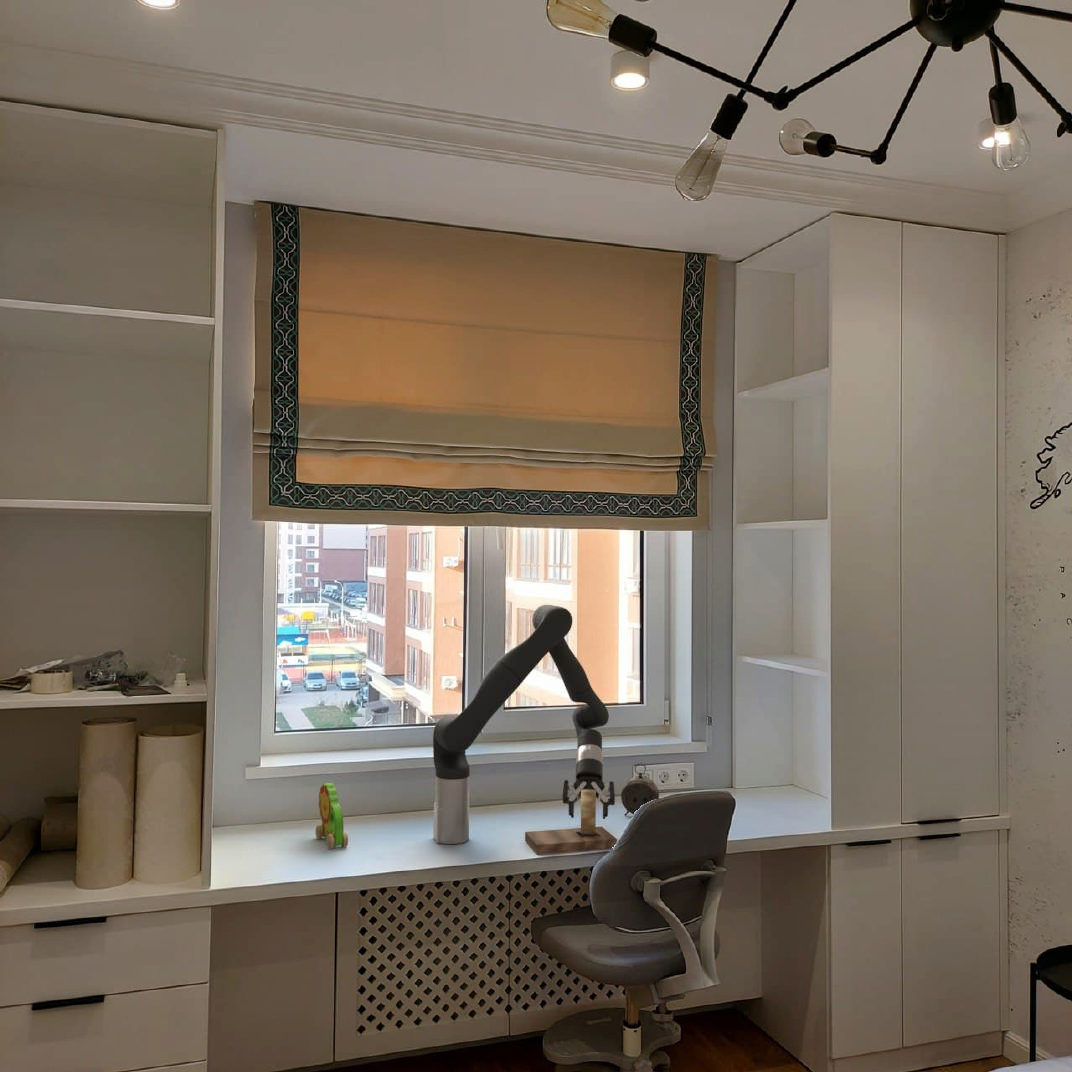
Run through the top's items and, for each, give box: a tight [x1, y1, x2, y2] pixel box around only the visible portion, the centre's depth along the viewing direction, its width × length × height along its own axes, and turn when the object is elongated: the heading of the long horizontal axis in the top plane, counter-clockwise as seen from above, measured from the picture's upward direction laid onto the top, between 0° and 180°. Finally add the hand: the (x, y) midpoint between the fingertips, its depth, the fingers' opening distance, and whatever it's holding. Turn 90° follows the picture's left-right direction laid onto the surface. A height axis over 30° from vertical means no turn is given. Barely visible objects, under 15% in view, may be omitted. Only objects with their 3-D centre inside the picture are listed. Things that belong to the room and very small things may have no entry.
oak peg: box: [580, 789, 597, 838], centre depth 254 cm, size 4×4×14 cm
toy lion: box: [315, 782, 349, 850], centre depth 253 cm, size 16×5×15 cm, turn 29°
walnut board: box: [524, 826, 618, 856], centre depth 252 cm, size 22×12×2 cm, turn 106°
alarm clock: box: [620, 762, 660, 817], centre depth 279 cm, size 11×5×16 cm, turn 76°
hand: (588, 816), depth 252 cm, fingers open, 8 cm apart
